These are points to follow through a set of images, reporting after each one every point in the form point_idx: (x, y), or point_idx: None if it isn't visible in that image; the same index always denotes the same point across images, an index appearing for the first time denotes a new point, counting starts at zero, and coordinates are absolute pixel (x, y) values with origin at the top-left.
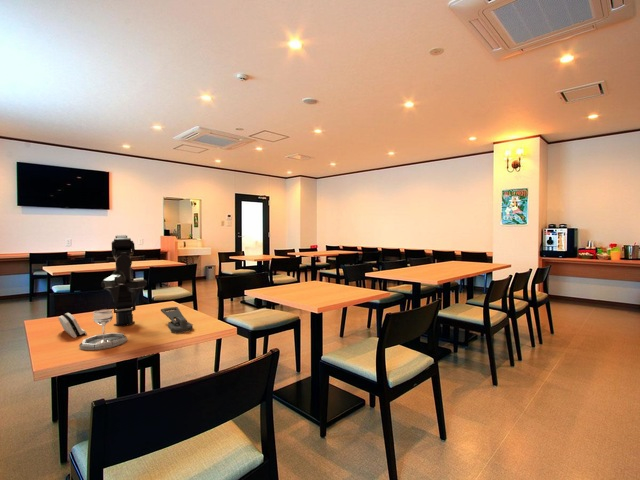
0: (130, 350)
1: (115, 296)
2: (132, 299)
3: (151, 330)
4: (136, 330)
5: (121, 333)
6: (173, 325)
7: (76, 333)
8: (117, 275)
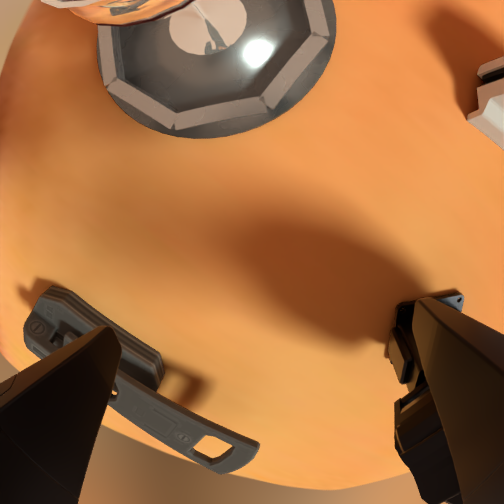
0: (23, 57)
1: (461, 382)
2: (62, 356)
3: (179, 294)
4: (261, 270)
5: (189, 124)
6: (83, 332)
7: (490, 76)
8: None
